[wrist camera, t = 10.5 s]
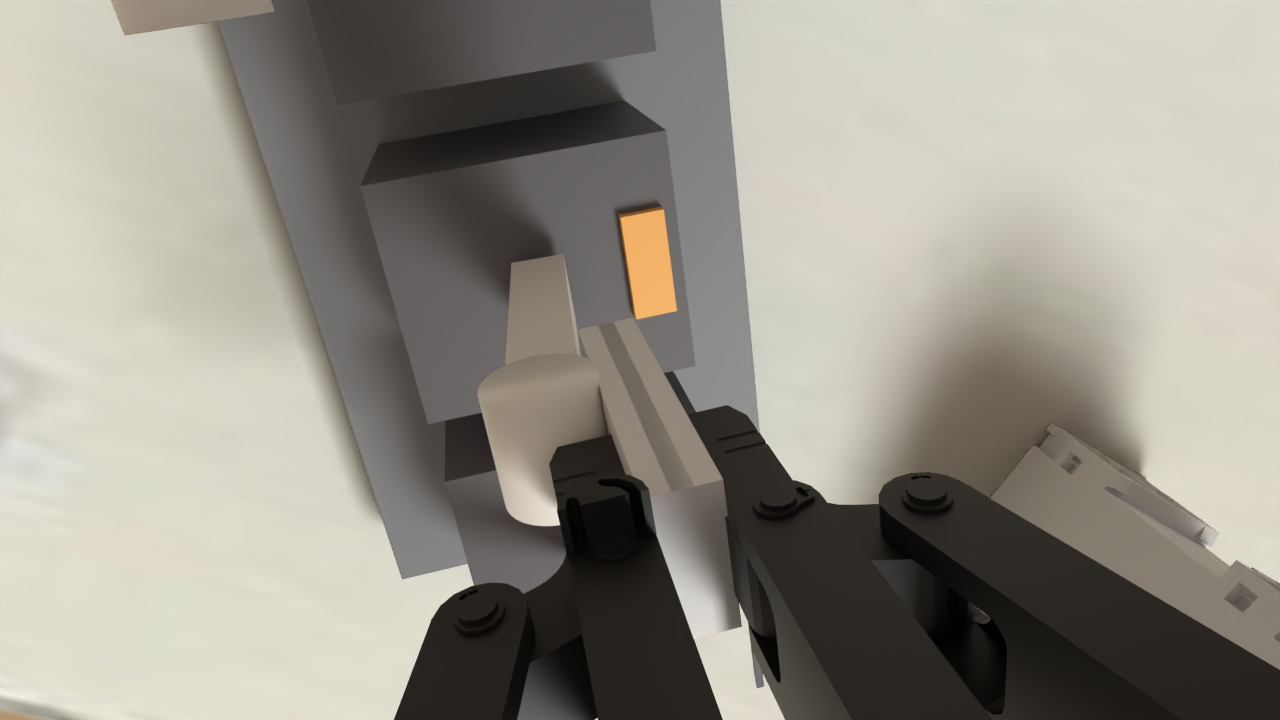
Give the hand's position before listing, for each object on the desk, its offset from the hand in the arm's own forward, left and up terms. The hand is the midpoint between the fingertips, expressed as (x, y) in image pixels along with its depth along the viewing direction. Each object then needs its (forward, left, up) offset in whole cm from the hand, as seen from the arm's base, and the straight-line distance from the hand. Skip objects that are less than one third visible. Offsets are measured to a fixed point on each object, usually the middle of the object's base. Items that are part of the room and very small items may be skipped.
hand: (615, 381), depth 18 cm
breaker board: (+1, 0, -15) cm, 15 cm away
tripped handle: (+1, 0, -6) cm, 6 cm away
